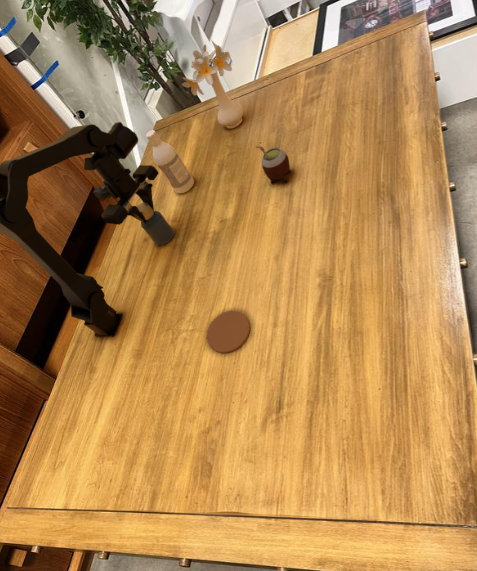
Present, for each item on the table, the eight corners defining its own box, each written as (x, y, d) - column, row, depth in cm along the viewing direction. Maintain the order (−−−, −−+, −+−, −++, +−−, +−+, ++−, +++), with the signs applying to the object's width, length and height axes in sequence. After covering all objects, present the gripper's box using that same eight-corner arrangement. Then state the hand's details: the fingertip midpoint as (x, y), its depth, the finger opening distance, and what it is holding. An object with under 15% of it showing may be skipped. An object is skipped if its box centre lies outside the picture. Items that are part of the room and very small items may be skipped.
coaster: (245, 353, 79) (244, 352, 79) (203, 352, 84) (201, 351, 83) (253, 311, 85) (252, 309, 84) (213, 312, 89) (212, 311, 89)
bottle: (170, 243, 109) (148, 216, 101) (151, 246, 112) (129, 219, 104) (176, 227, 112) (156, 198, 104) (158, 229, 115) (137, 202, 107)
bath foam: (173, 186, 126) (137, 134, 111) (192, 175, 126) (158, 121, 111) (177, 197, 122) (141, 145, 107) (197, 186, 121) (162, 131, 106)
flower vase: (207, 143, 133) (169, 73, 115) (230, 108, 141) (198, 38, 122) (238, 141, 126) (203, 66, 108) (261, 105, 133) (232, 29, 115)
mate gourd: (286, 165, 109) (268, 118, 98) (299, 178, 104) (282, 130, 93) (263, 179, 109) (243, 134, 98) (275, 193, 104) (255, 147, 93)
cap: (156, 210, 105) (150, 202, 103) (148, 221, 104) (142, 213, 102) (146, 209, 108) (140, 201, 106) (138, 220, 106) (132, 212, 104)
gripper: (113, 147, 103) (146, 191, 114) (71, 198, 96) (110, 239, 107) (142, 146, 97) (173, 192, 108) (99, 200, 89) (138, 244, 101)
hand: (148, 216), depth 106 cm, fingers closed on cap, 4 cm apart
